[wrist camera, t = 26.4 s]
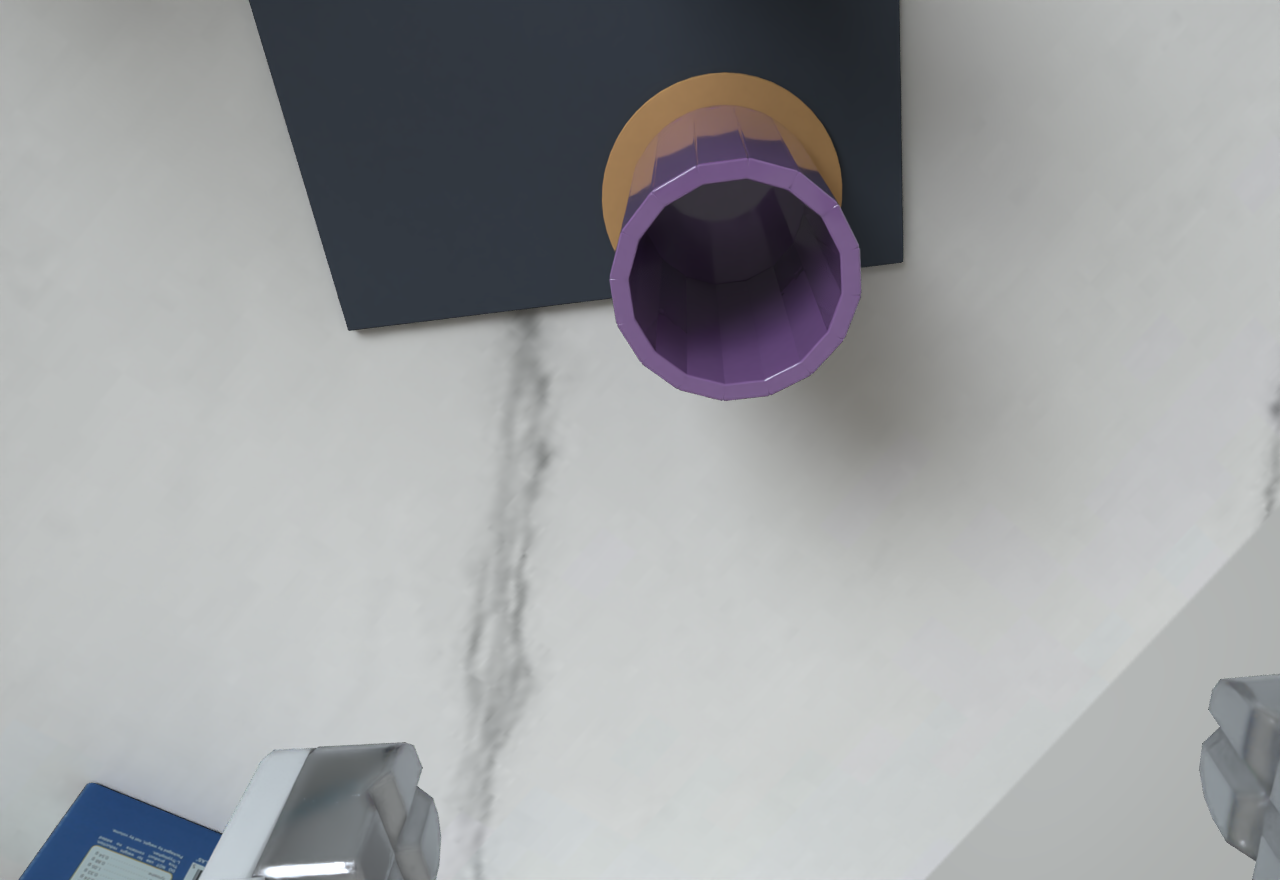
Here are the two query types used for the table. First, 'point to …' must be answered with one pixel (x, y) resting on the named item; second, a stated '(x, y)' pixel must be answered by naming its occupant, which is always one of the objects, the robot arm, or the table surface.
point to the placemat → (554, 131)
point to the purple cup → (732, 257)
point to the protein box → (121, 842)
